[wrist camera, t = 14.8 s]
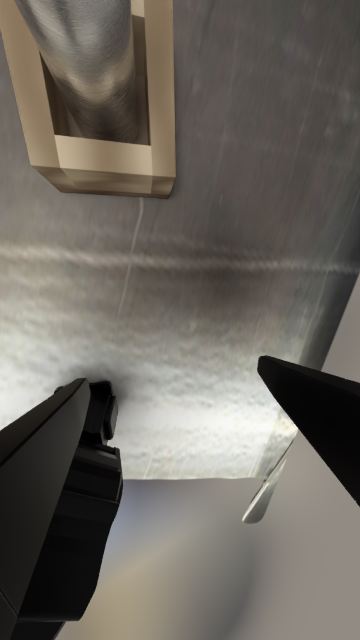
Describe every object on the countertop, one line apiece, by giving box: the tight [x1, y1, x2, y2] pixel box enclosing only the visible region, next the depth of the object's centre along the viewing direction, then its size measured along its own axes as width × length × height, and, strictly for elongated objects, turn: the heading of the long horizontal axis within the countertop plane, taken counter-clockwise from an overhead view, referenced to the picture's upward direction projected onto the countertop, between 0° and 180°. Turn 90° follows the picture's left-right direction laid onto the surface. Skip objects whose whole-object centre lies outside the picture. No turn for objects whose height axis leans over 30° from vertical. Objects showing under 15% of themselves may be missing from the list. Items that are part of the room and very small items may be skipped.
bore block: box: [0, 0, 176, 199], centre depth 13 cm, size 10×10×4 cm
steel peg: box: [14, 0, 139, 144], centre depth 8 cm, size 5×5×13 cm
